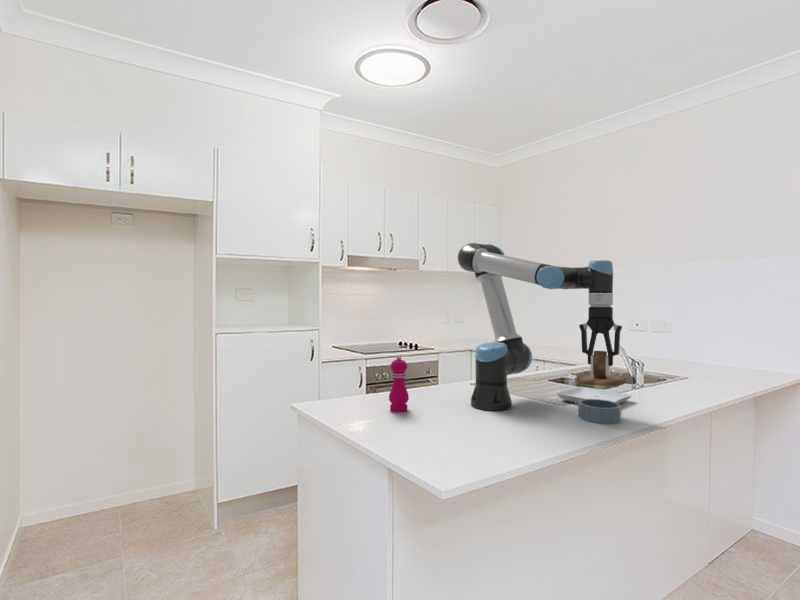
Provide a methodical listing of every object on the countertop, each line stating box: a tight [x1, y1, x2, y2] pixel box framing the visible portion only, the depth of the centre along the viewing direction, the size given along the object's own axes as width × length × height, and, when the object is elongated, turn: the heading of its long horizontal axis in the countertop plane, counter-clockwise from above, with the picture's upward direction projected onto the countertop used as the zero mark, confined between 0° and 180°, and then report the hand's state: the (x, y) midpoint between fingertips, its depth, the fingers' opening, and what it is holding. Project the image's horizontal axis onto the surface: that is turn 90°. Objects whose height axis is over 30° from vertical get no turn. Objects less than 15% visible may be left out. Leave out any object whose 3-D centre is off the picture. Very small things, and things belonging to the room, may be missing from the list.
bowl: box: [577, 399, 622, 425], centre depth 155 cm, size 13×13×5 cm
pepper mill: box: [388, 354, 410, 413], centre depth 166 cm, size 7×7×20 cm
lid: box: [576, 350, 626, 387], centre depth 155 cm, size 15×15×10 cm
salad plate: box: [556, 386, 632, 404], centre depth 179 cm, size 21×21×3 cm
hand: (600, 374), depth 155 cm, fingers closed on lid, 4 cm apart
